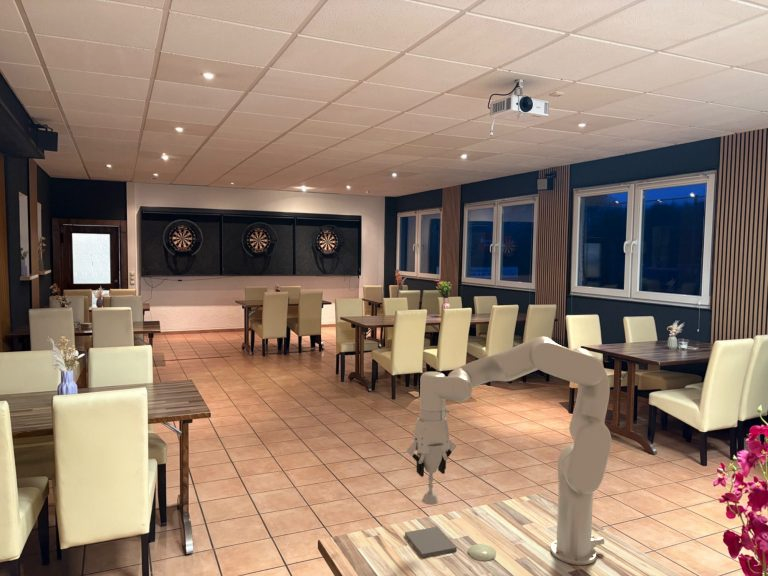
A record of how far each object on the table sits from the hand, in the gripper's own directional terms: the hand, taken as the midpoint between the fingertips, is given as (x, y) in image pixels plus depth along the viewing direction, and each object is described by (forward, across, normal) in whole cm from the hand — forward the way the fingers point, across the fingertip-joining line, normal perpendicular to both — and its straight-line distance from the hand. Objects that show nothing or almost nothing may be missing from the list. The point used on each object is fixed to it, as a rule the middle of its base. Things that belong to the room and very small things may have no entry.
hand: (431, 473), depth 169 cm
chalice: (+9, 0, 0) cm, 9 cm away
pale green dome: (+22, -12, +10) cm, 27 cm away
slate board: (+22, 0, 0) cm, 22 cm away
